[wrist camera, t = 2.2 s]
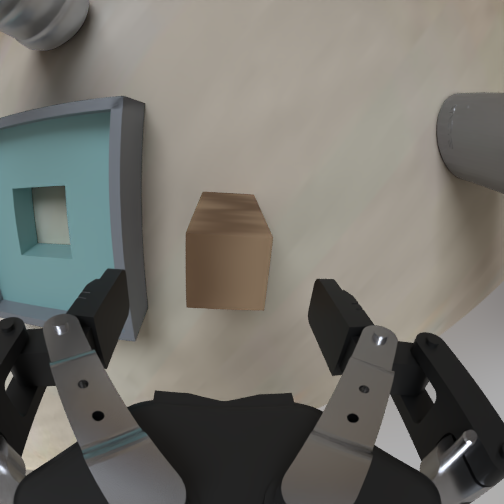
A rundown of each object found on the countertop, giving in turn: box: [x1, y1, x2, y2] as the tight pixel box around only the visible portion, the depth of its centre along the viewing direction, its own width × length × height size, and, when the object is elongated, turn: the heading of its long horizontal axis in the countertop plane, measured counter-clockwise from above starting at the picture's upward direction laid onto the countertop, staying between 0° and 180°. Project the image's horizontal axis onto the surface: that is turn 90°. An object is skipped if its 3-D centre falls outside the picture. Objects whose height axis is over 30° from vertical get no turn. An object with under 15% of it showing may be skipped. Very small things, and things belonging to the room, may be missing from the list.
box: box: [0, 96, 148, 341], centre depth 19 cm, size 17×18×5 cm
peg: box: [186, 192, 273, 310], centre depth 19 cm, size 4×4×10 cm
